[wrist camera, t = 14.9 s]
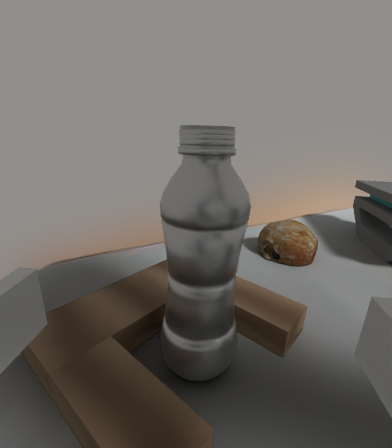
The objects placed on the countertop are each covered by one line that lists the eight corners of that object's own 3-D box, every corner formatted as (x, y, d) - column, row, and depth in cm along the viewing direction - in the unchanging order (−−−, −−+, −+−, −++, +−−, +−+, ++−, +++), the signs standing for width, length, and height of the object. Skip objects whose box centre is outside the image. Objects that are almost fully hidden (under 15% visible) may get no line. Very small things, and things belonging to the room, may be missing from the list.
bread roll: (250, 267, 49) (243, 236, 44) (275, 233, 54) (272, 201, 49) (303, 289, 42) (302, 255, 38) (326, 247, 48) (329, 213, 43)
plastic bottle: (158, 339, 26) (153, 125, 20) (223, 331, 28) (238, 128, 21) (163, 400, 20) (158, 122, 14) (246, 386, 22) (277, 127, 15)
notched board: (181, 271, 39) (181, 252, 38) (302, 329, 28) (307, 306, 27) (22, 353, 24) (15, 326, 23) (149, 550, 13) (147, 515, 12)
